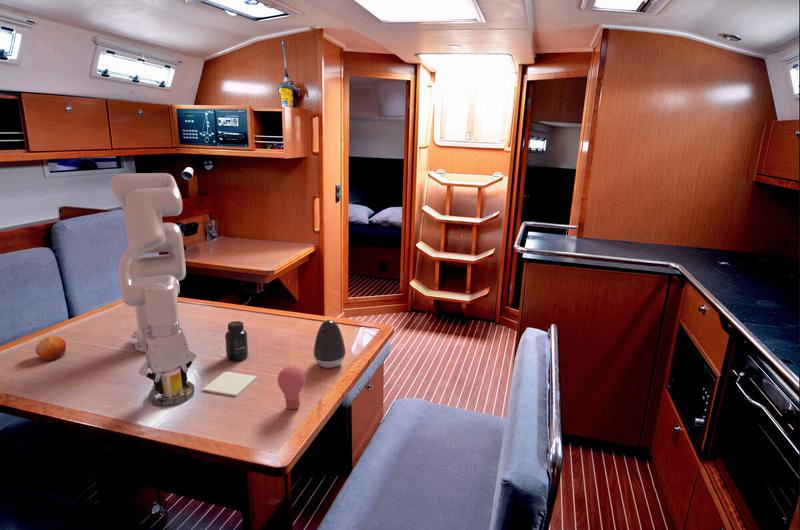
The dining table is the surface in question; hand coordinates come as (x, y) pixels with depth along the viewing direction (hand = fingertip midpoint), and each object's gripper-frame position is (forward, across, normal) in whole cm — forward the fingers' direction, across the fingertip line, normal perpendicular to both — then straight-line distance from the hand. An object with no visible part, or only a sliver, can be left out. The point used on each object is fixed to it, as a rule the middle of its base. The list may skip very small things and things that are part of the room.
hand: (171, 387), depth 131 cm
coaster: (+3, +15, -6) cm, 16 cm away
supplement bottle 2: (+3, +24, +9) cm, 26 cm away
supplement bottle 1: (+3, 0, 0) cm, 3 cm away
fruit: (+3, -18, +50) cm, 54 cm away
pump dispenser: (+3, +43, -16) cm, 46 cm away
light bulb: (+3, +21, -28) cm, 35 cm away
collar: (+3, 0, 0) cm, 3 cm away
